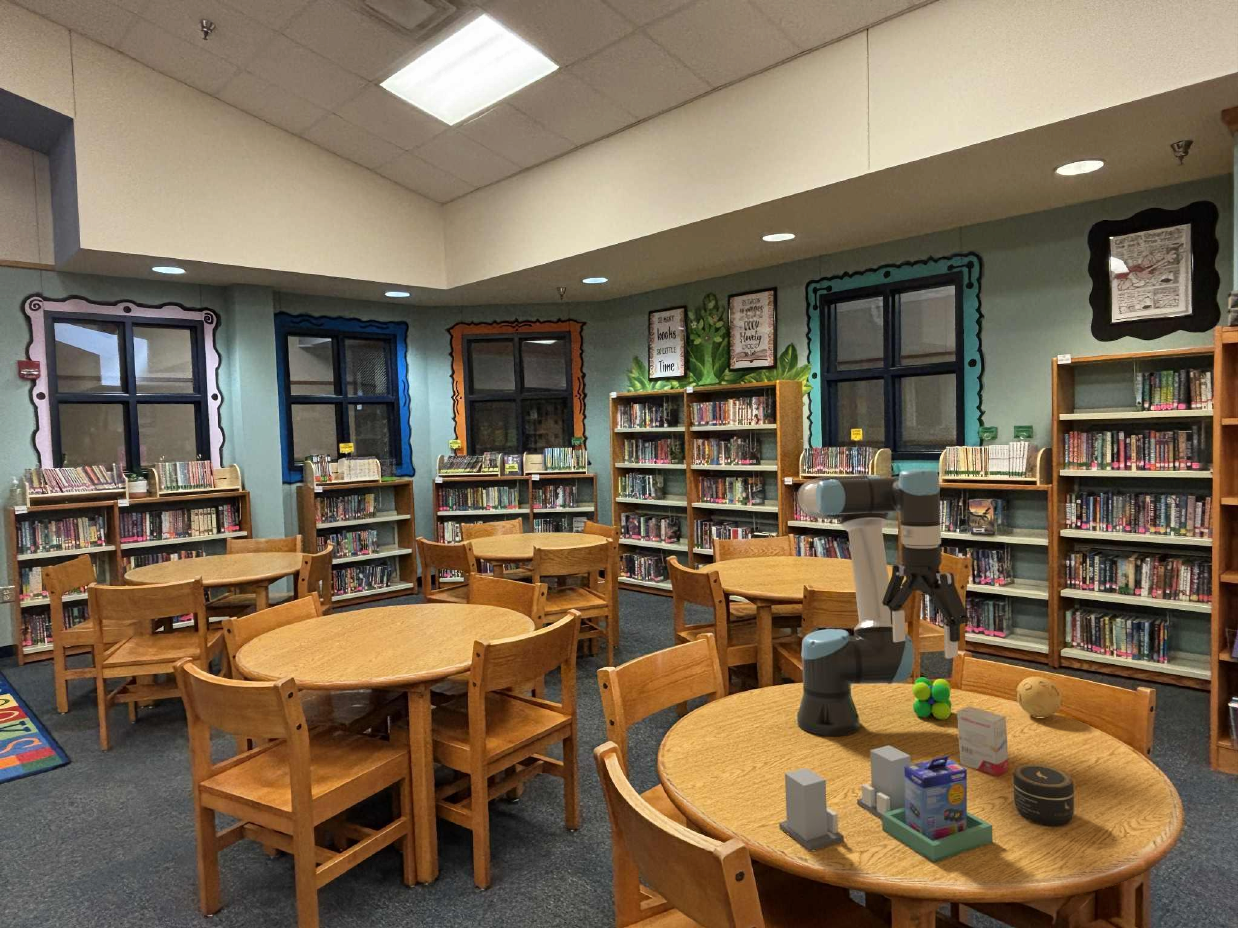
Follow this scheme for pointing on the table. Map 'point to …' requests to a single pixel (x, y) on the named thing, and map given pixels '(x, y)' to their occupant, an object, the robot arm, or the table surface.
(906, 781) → the ink cartridge box
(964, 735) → the ink box
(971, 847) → the tray
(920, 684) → the molecule model
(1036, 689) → the stress ball
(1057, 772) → the jar
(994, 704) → the table surface
